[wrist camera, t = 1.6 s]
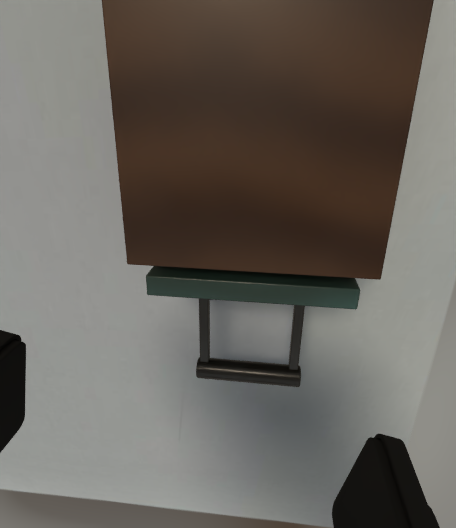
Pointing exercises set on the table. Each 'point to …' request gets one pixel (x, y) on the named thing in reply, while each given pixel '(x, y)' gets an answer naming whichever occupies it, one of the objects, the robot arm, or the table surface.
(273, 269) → the cabinet
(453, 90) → the table surface
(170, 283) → the drawer
